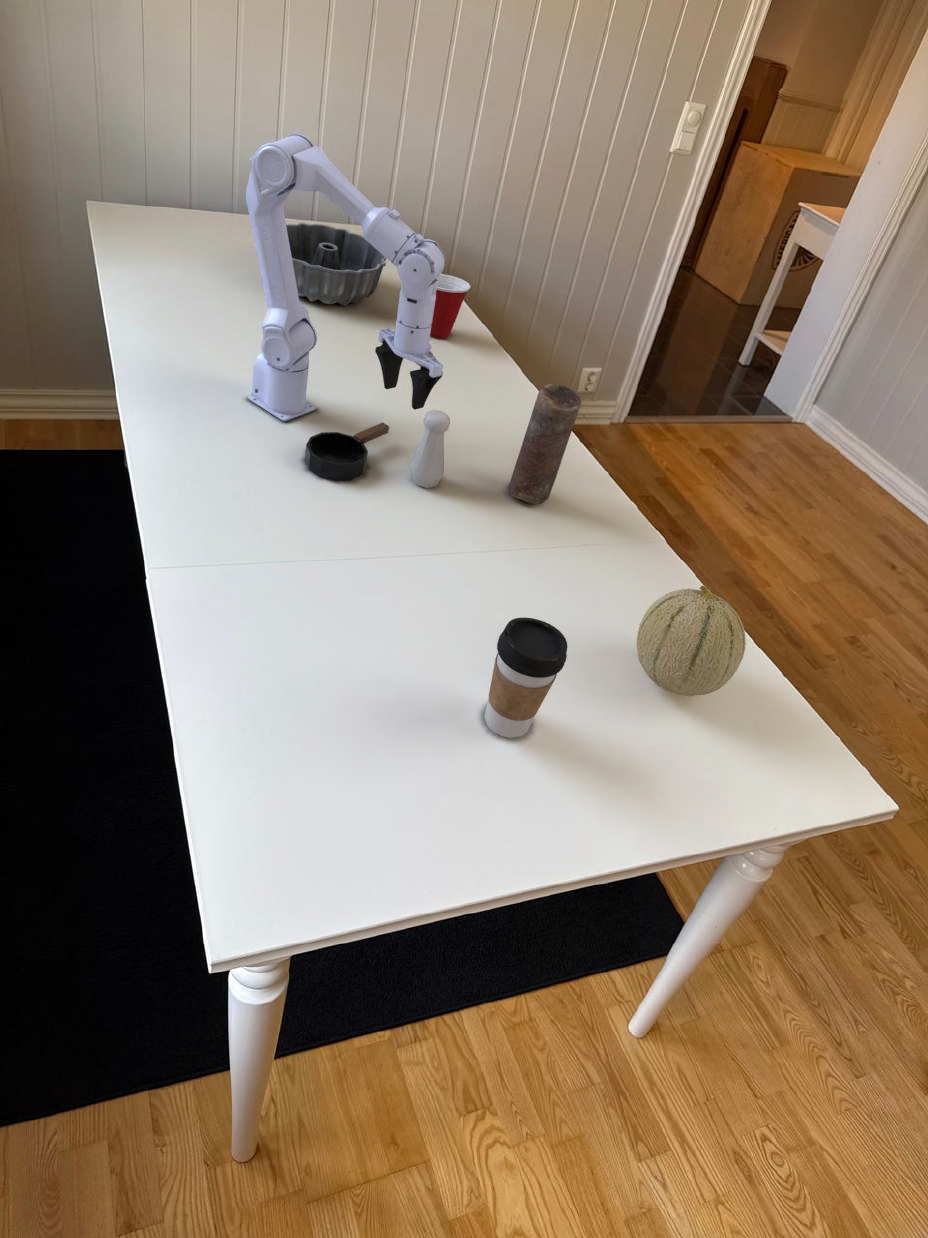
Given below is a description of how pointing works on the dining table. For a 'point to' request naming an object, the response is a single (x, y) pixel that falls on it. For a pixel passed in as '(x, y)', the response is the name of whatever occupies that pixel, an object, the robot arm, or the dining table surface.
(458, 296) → the plastic cup
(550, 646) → the coffee cup
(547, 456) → the candle
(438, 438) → the salt shaker
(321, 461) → the pan
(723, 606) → the cantaloupe
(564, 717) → the dining table surface
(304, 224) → the bundt pan
